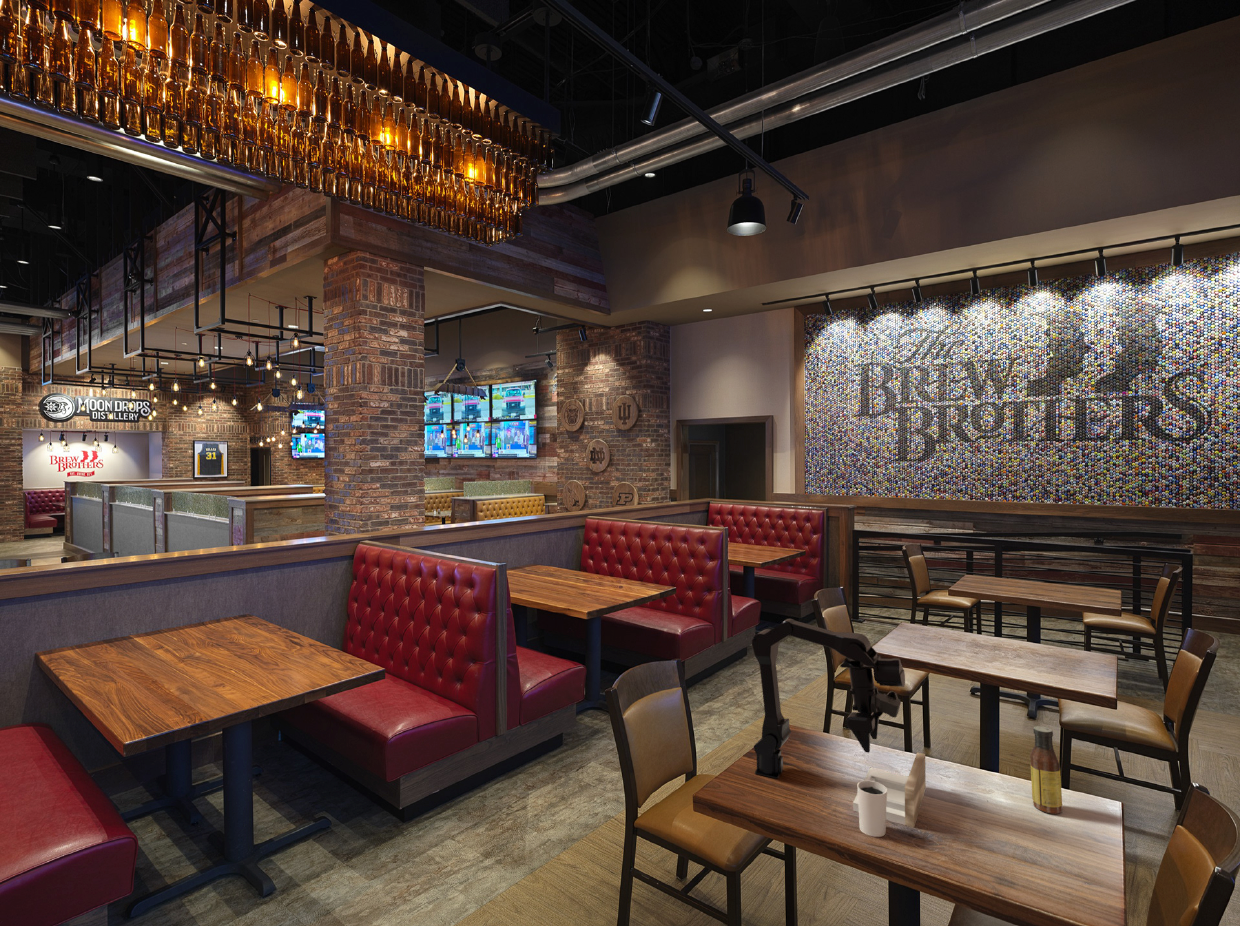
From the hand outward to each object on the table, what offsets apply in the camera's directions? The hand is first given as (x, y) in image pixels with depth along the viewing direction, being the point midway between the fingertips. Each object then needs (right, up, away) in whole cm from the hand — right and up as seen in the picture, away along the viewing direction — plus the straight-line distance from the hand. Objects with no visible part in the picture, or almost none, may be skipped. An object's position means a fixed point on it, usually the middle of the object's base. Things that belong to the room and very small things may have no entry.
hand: (871, 745), depth 162 cm
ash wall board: (+10, -14, -3) cm, 17 cm away
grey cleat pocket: (+4, -14, +1) cm, 15 cm away
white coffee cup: (-5, -14, -14) cm, 20 cm away
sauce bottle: (+42, -14, -5) cm, 45 cm away
